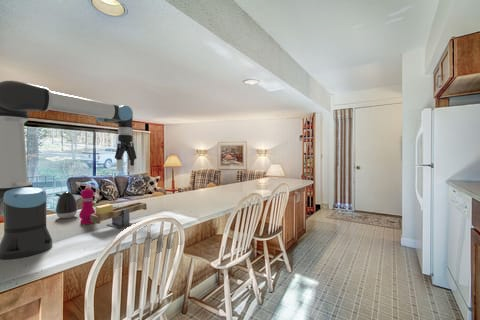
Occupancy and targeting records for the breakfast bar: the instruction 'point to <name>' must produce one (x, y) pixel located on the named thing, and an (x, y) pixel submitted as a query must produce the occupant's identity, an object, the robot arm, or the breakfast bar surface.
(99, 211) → the block
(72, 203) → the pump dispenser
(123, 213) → the fulcrum
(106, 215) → the beam
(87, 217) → the magenta figurine
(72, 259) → the breakfast bar surface
